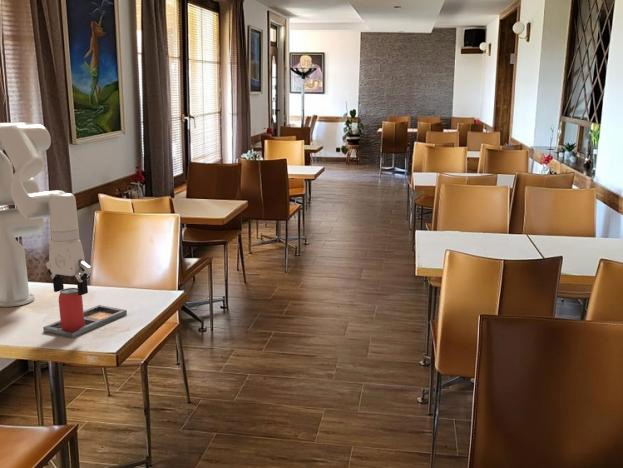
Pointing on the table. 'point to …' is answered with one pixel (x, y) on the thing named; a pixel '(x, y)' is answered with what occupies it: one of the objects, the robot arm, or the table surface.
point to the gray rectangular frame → (88, 321)
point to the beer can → (71, 309)
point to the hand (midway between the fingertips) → (70, 292)
